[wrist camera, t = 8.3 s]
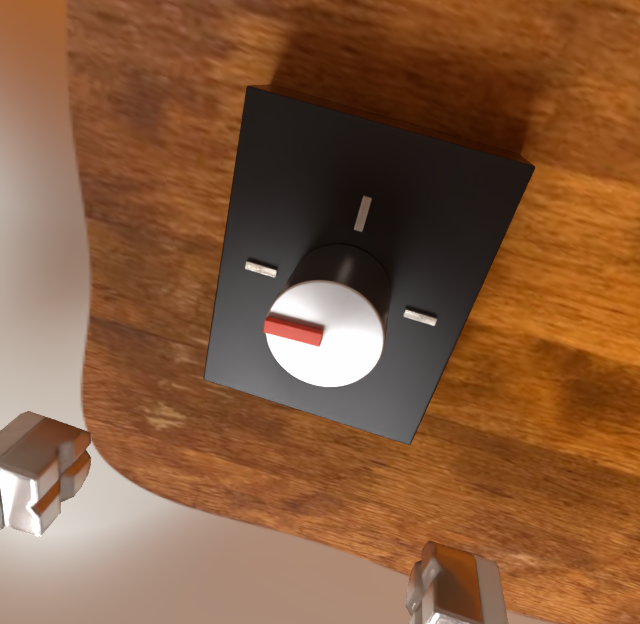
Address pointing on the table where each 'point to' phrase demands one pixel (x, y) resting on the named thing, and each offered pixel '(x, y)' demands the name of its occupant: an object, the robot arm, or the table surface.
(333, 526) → the table surface
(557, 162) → the table surface
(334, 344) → the dial
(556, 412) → the table surface
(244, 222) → the panel
